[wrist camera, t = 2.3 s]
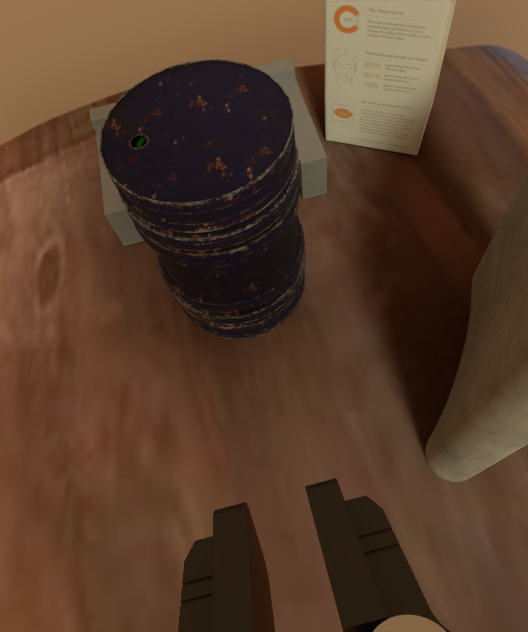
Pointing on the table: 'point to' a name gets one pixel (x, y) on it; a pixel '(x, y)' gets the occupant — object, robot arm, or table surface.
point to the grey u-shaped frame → (305, 137)
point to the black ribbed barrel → (214, 190)
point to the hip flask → (490, 359)
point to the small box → (383, 70)
